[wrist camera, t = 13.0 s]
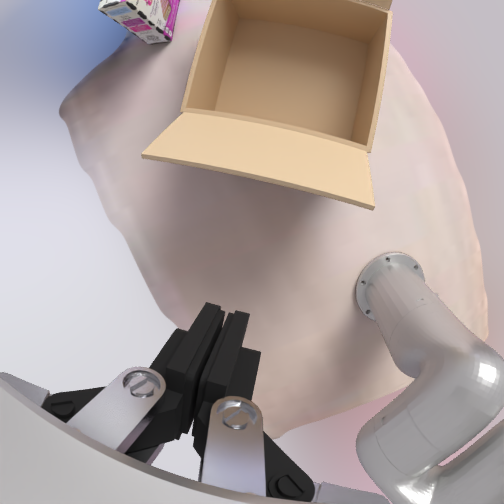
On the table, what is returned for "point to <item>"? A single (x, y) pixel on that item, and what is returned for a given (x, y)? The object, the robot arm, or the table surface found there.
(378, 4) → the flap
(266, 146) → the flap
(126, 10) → the candy bar box
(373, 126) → the carton
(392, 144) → the table surface
